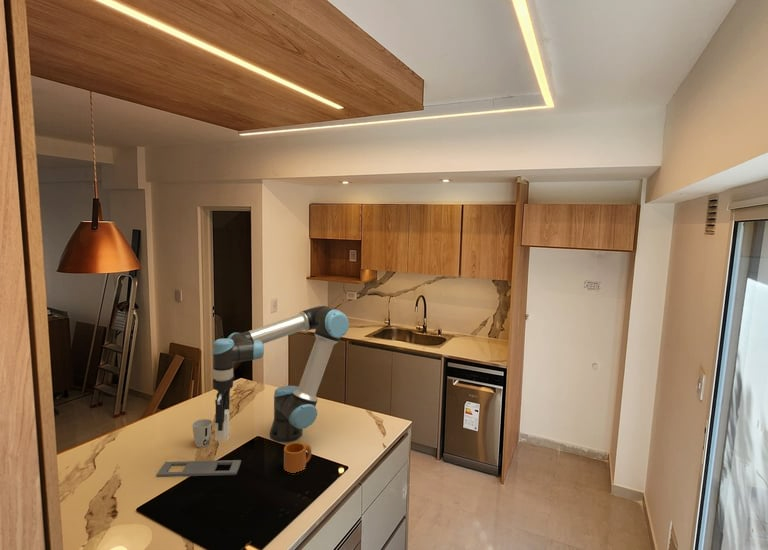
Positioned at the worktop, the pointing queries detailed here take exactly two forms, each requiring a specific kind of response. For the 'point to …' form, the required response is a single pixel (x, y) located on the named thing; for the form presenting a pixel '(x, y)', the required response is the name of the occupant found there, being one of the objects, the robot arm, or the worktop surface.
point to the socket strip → (199, 468)
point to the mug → (296, 457)
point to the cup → (202, 432)
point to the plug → (227, 426)
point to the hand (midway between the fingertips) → (222, 434)
